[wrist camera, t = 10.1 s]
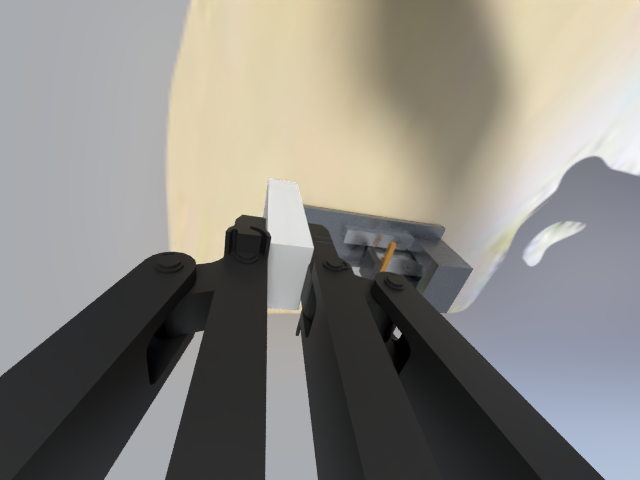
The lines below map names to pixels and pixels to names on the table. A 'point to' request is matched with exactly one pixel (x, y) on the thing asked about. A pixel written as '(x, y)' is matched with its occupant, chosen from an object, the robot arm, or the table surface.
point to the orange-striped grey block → (389, 262)
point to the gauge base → (419, 238)
